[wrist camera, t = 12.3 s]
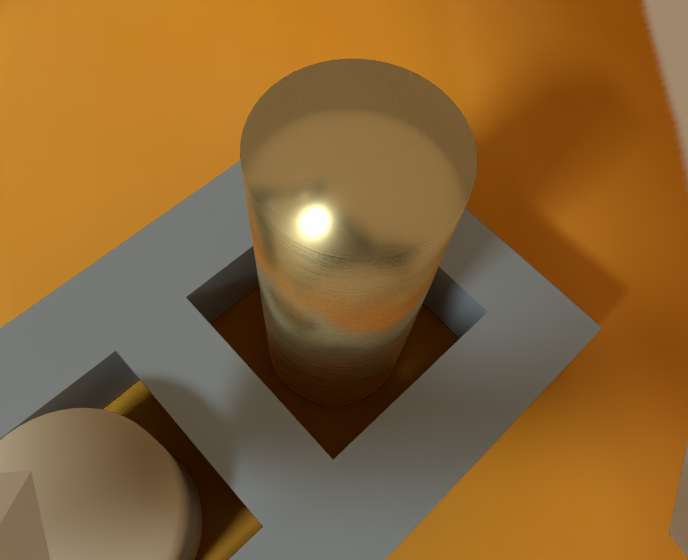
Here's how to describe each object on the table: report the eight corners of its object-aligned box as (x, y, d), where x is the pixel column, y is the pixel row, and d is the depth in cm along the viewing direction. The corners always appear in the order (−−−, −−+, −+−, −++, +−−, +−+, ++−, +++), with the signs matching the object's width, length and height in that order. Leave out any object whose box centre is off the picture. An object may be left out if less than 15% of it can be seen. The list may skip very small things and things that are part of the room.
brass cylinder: (241, 337, 22) (190, 139, 12) (336, 259, 23) (362, 25, 13) (330, 433, 21) (357, 304, 11) (425, 345, 22) (525, 159, 12)
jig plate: (-161, 506, 19) (-238, 495, 16) (331, 145, 25) (335, 94, 23) (70, 881, 16) (22, 945, 13) (565, 358, 22) (602, 328, 20)
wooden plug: (-11, 524, 19) (-94, 511, 15) (134, 406, 21) (95, 367, 17) (91, 670, 18) (29, 699, 14) (237, 532, 19) (221, 521, 15)
